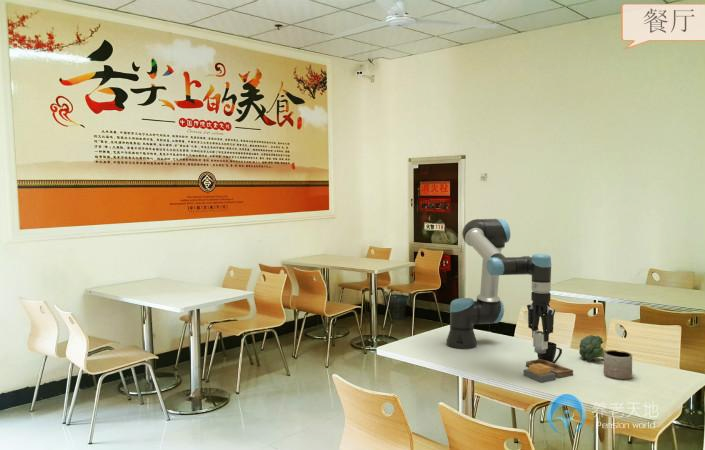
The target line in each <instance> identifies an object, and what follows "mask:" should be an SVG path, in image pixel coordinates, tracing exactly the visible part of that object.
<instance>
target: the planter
mask: <svg viewBox="0 0 705 450" xmlns="http://www.w3.org/2000/svg"><path fill="white" fill-rule="evenodd" d="M602 369H603V375H605V377H607V378H610V379H613V380H619V379H620V380H621V381H622V380H623V381H624V380H626V379H627V380H630V379H631V378H632V377H633V354H632V353H629V352H627V351H622V350H614V349H610V350H607V351H605V352H604V358H603V368H602ZM627 380H626V381H627Z"/></svg>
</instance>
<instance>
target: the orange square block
mask: <svg viewBox="0 0 705 450" xmlns="http://www.w3.org/2000/svg"><path fill="white" fill-rule="evenodd" d="M528 369H529V371H530V372H533V373H535V374H538V375H543V374H548V373H550V367H549V366H546V365H543V364H540V363H538V364H533V365H529V367H528Z"/></svg>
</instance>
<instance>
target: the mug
mask: <svg viewBox="0 0 705 450" xmlns="http://www.w3.org/2000/svg"><path fill="white" fill-rule="evenodd" d="M557 350H558V354H557ZM562 353H563V349H562V348H561V347H557V343H555V342H552V341H548V349H546V353H543V354H541V353H536V354H537V359H542V360H546V361H549V362H552V363H554V364H557V362H558V360H559V359H560V358H561V356H562ZM556 354H557V356H556Z"/></svg>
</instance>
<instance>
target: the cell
mask: <svg viewBox="0 0 705 450" xmlns="http://www.w3.org/2000/svg"><path fill="white" fill-rule="evenodd" d="M537 331H538V332H535V347H533V348H534V353H536V354H537V353H541V354H543V353H546V349H544V350H542V349H541V339H542V333H543V330H537Z"/></svg>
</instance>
